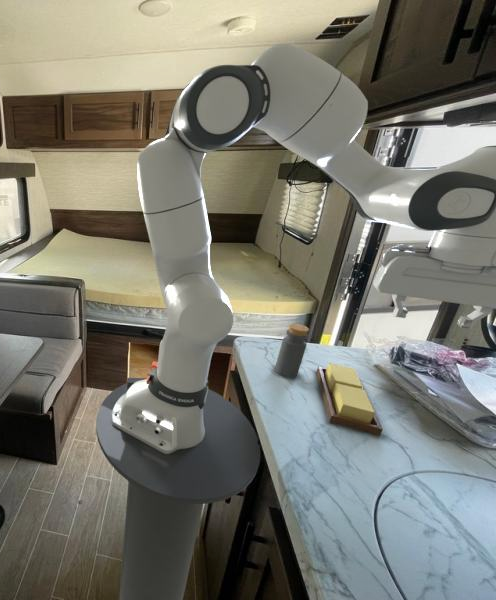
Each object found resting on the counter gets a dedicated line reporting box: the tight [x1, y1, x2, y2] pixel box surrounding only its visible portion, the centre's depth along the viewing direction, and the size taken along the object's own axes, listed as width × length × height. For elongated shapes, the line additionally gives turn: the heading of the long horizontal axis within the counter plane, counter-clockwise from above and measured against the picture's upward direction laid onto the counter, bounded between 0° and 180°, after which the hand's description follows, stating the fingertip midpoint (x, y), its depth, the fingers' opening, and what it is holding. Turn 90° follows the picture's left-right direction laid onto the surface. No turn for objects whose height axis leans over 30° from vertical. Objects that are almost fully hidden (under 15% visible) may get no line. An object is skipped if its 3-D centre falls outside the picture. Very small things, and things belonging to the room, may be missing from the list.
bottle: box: [274, 323, 310, 379], centre depth 92 cm, size 6×6×15 cm
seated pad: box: [325, 362, 363, 393], centre depth 87 cm, size 6×9×4 cm, turn 154°
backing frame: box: [315, 365, 384, 437], centre depth 83 cm, size 10×23×2 cm, turn 154°
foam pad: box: [331, 383, 376, 424], centre depth 79 cm, size 6×9×4 cm, turn 154°
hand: (430, 321), depth 61 cm, fingers open, 8 cm apart
